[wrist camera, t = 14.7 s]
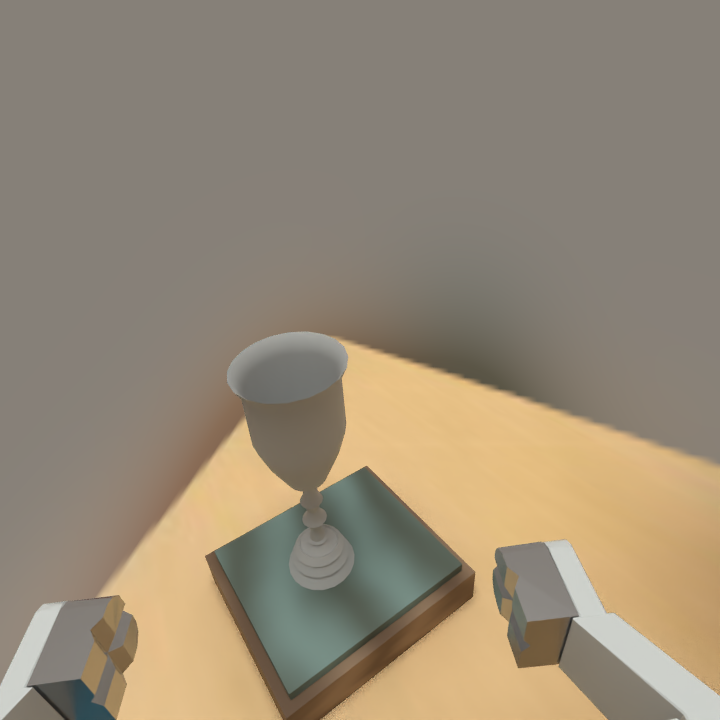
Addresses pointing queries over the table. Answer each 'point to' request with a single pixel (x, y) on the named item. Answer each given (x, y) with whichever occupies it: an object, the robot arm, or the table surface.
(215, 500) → the table surface
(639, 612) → the table surface
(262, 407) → the chalice
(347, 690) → the plinth
